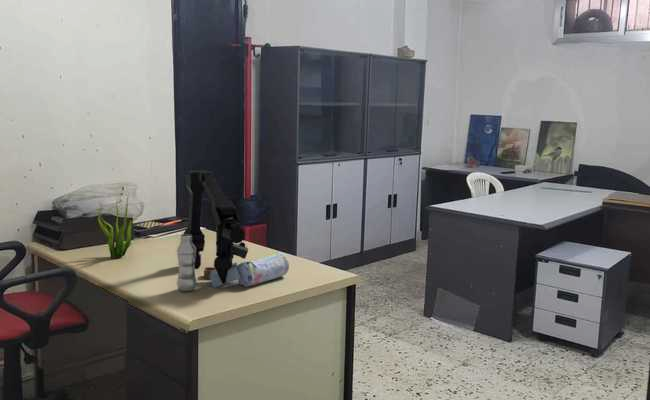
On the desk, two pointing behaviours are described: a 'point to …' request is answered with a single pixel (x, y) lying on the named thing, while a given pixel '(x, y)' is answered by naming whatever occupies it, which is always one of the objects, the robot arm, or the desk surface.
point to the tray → (208, 272)
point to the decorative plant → (117, 235)
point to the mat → (226, 285)
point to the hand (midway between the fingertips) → (224, 279)
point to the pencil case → (262, 269)
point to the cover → (231, 275)
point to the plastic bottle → (186, 264)
